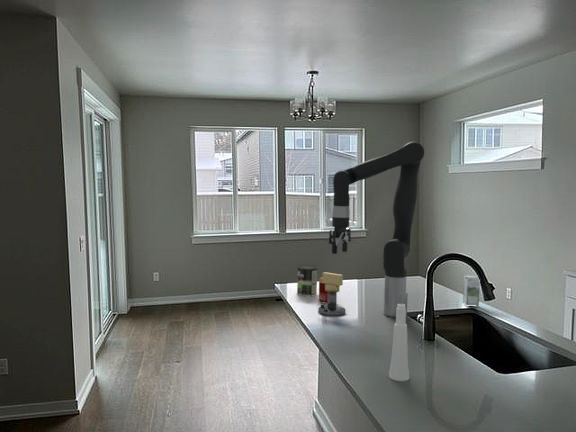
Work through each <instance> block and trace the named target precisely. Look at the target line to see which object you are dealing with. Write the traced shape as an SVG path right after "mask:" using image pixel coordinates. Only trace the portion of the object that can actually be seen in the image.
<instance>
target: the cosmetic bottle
mask: <svg viewBox="0 0 576 432" xmlns="http://www.w3.org/2000/svg"><path fill="white" fill-rule="evenodd" d="M397 306H398V307H397V308H396V317H395V323H394V326H393V335H392V348H391V350H392V351H391V360H390V367H389V372H388V377H389V379H391V380H392V381H396V382H407V381H409V380H410V372H409V361H408V359H409V358H408V356H409V355H408V324H407V322H406V320H407V315H406V308H405V305H404V304H397Z"/></svg>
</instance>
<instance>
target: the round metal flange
mask: <svg viewBox="0 0 576 432" xmlns="http://www.w3.org/2000/svg"><path fill="white" fill-rule="evenodd" d="M337 294H338V292H328V301H327V303H326V305H325V304H320V306H319V307H318V308H317V309H318V310H317V312H318V314H319V315H322V316H325V317H326V316H327V317H341V316H344V315H346V308H344V307H343V306H339V305H338V304H337V301H338V300H337V298H338V297H337Z"/></svg>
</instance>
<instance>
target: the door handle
mask: <svg viewBox="0 0 576 432" xmlns="http://www.w3.org/2000/svg"><path fill="white" fill-rule="evenodd" d="M343 278H344V275H343V274H339V273H332V272H328V271H327V272H326V271H325V272H322V277H319V279H320V280H319V279H318V284H319V283H325V291H326V292H337V293H338V292H340V287H341V286H343V282H344V281H343V280H344V279H343Z"/></svg>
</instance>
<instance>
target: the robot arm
mask: <svg viewBox="0 0 576 432" xmlns="http://www.w3.org/2000/svg"><path fill="white" fill-rule="evenodd" d="M424 157H425V149H424V146H423V144H421V143H419V142H417V141H410V142H407V143H405V144H404V145H403V146H402V147H400V148H398V149H396V150H394V151H392V152H390V153H388V154H385V155H382V156H378V157H375V158H371V159H369V160H366V161H364V162H361V163H358V164H356V165H355V166H353V167H350V168H347V169H343V170H338V171H337V172H335V174H334V175H333V181H332V182H333V183H332V184H333V200H332V201H333V203H332V204H333V205H332V213H331V214H332V215H331V216H332V217H331V218H332V220H331V221H332V222H331V226H332V227H333V228H334V229H330V230H329V234H328V235H329V239H328V244H330V245H331V253H332V254H333V255H336V254H338V244H339V242H340V241H341V242H342V243H341V244H342V245H341V246H342V248H341V249H342V250H341V251H342V252H343V253H346V252H348V244H349V242H352V241H351V240H352V239H351V238H352V237H351V234H352V233H351V231H352V230H351V228H349V227H350V216H351V215H350V213H351V211H350V194H349V193H350V185H353V184H354V183H356V182H359V181H363V180H366V179H369V178H371V177H374V176H377V175H379V174H382V173H384V172H387V171H388V170H392V169H393V168H397V167H400V172H399V178H398V181H397V184H396V188H395V193H394V198H393V205H392V213H393V221H394V230H393V235H392V239H391V240H388V241H387V242H386V243H385V244H384V246H383V256H382V257H383V258H382V259H383V262H382V263H383V269H384V290H383V292H384V293H383V294H384V295H383V299H384V300H383V314H384V315H385V316H388V317H392V318H396V308H397V307H398V306H397V304H404V305H405V308H406V316H407V315H408V299H409V298H408V297H409V295H408V293H407V277H408V276H407V275H408V274H407V273H408V272H407V269H406V268H405V258H406V257H407V256H408V255H409V253H410V249H411V235H412V234H411V233H412V227H413V226H412V225H413V220H414V215H415V210H416V205H417V204H416V203H417V198H418V196H417V195H418V175H419V174H418V173H419V169H420V165H421V161H422V159H423V158H424Z"/></svg>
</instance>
